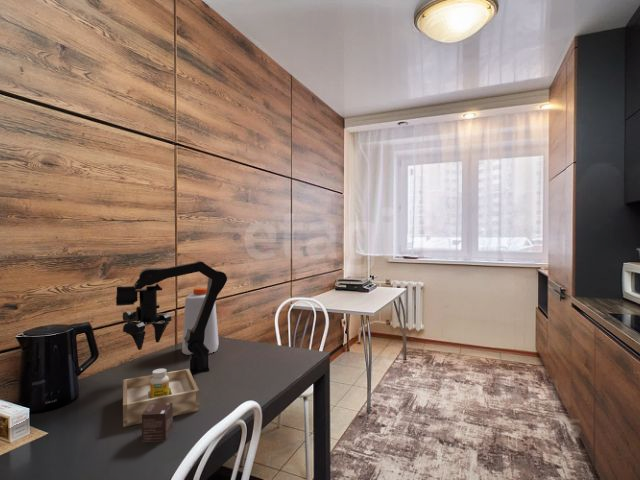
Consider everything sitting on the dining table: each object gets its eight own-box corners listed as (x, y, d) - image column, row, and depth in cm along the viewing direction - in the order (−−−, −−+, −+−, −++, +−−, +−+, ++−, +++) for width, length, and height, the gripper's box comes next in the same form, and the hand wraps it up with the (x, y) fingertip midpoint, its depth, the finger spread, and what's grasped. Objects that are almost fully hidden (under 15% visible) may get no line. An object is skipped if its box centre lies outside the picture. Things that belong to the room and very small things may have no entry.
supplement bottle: (167, 396, 117) (167, 366, 117) (170, 402, 112) (170, 371, 112) (149, 400, 114) (148, 369, 114) (151, 407, 109) (151, 375, 109)
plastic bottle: (180, 356, 157) (179, 291, 157) (186, 346, 172) (185, 286, 172) (216, 354, 160) (216, 290, 160) (219, 344, 175) (218, 285, 175)
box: (150, 430, 98) (150, 403, 98) (173, 429, 99) (173, 402, 99) (141, 443, 92) (140, 414, 92) (165, 441, 93) (165, 413, 92)
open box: (188, 385, 127) (188, 368, 127) (199, 410, 109) (199, 390, 109) (123, 398, 117) (123, 379, 117) (123, 427, 100) (123, 405, 99)
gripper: (147, 298, 144) (147, 337, 144) (109, 307, 126) (109, 352, 126) (171, 299, 141) (172, 339, 141) (136, 308, 123) (137, 354, 123)
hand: (148, 345), depth 133 cm, fingers open, 9 cm apart
